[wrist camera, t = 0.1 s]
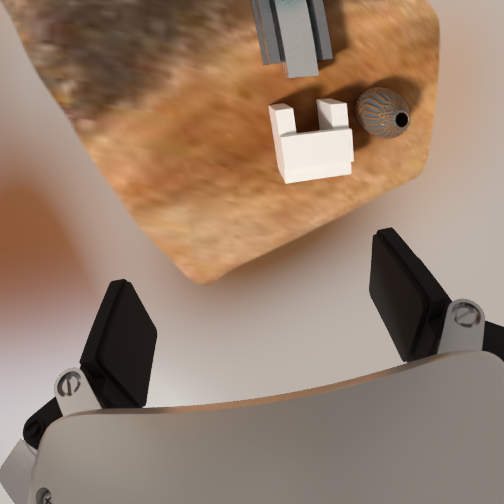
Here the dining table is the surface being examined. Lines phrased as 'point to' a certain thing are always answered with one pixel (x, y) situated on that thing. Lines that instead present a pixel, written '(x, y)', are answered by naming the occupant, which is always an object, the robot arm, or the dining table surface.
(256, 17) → the guide channel
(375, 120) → the vase
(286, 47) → the teal-tipped grey beam
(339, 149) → the socket block
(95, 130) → the dining table surface
